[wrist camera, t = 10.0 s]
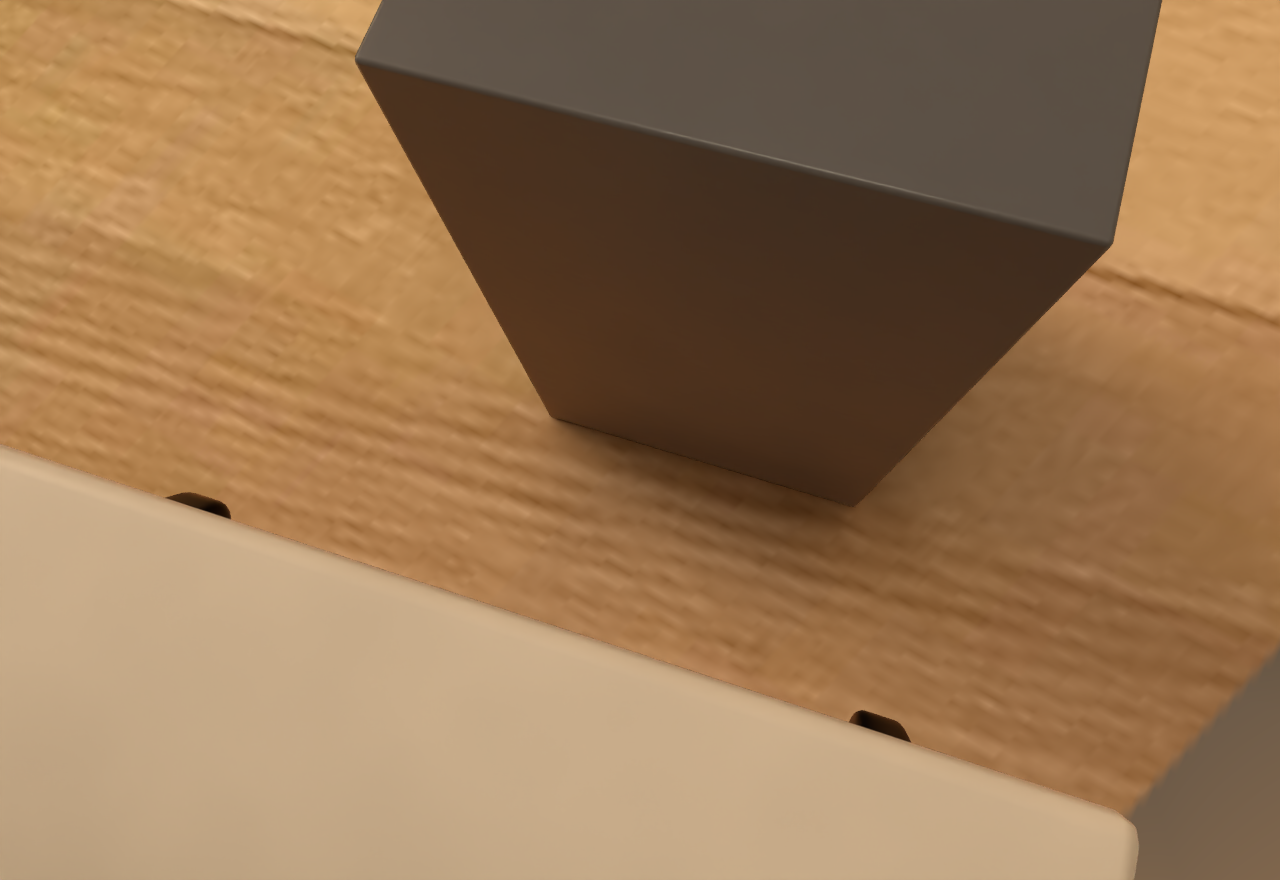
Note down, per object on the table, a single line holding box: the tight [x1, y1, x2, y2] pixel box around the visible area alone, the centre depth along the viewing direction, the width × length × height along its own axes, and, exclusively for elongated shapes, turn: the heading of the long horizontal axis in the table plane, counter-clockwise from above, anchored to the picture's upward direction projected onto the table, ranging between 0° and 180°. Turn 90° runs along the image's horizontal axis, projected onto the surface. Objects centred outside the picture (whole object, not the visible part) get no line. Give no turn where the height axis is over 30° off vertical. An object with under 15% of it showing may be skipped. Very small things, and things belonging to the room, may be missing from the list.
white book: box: [0, 444, 1139, 880], centre depth 8 cm, size 3×6×12 cm, turn 72°
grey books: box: [355, 0, 1162, 507], centre depth 15 cm, size 7×8×13 cm
